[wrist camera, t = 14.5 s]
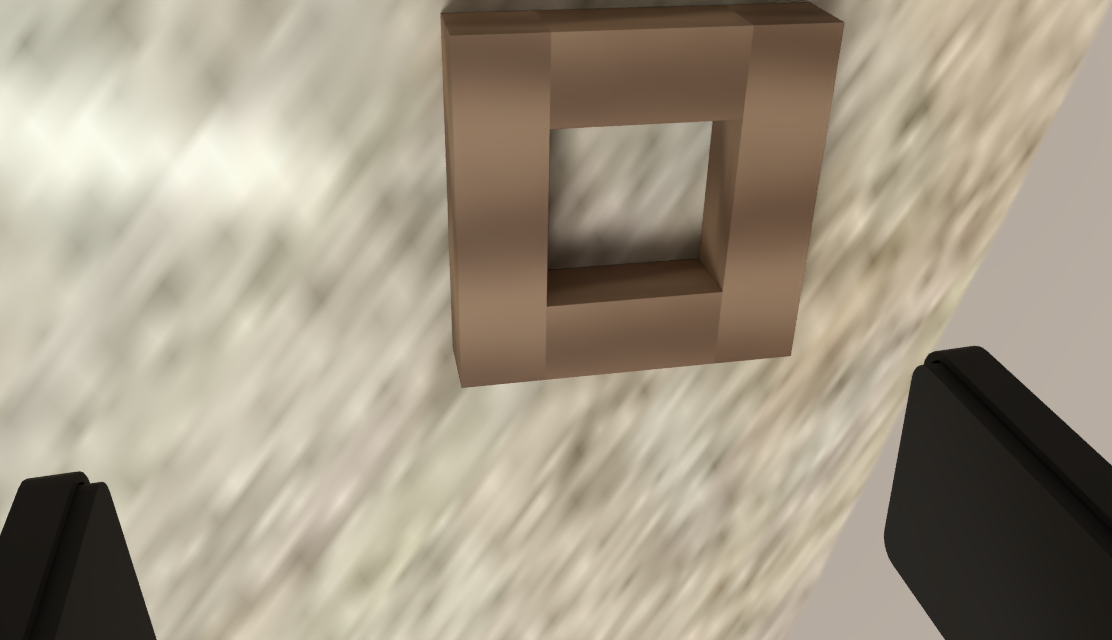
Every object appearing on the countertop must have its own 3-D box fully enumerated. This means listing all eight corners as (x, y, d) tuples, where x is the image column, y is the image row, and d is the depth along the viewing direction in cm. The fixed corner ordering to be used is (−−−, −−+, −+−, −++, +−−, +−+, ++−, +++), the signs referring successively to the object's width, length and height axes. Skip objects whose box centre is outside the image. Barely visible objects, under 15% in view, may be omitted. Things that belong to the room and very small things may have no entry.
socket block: (440, 13, 36) (450, 35, 34) (809, 2, 39) (844, 22, 36) (453, 348, 43) (461, 387, 41) (764, 320, 46) (790, 356, 43)
